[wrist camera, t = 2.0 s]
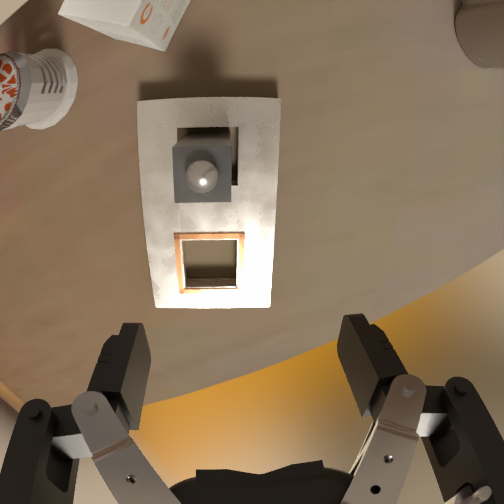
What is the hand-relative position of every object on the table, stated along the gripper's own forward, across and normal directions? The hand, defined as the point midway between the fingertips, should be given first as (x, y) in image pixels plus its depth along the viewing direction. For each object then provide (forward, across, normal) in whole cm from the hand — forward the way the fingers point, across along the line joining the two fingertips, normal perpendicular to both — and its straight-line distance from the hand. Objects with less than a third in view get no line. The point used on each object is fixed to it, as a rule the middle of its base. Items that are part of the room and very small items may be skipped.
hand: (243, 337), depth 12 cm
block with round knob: (+24, +2, -3) cm, 25 cm away
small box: (+24, +8, -19) cm, 32 cm away
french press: (+24, +22, -14) cm, 36 cm away
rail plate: (+24, +2, +3) cm, 24 cm away
